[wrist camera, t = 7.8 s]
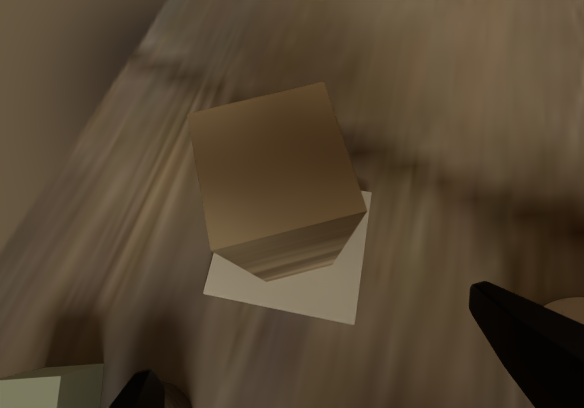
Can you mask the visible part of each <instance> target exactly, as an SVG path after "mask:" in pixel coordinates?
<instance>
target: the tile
mask: <svg viewBox="0 0 584 408" xmlns="http://www.w3.org/2000/svg"><path fill="white" fill-rule="evenodd" d="M361 193H362V196H363V199H364V202H365V205H366V208H367V213H366V214H365V216H364V217H363V219H362V220H361V222H360V223H359V225H358V226H357V228H356V229H355V231H354V232H353V234H352V236H351V237H350V239H349V240H348V242H347V243H346V245H345V246H344V248H343V249H342V251H341V252H340V254H339V255H338V257H337V258H336V260H335V261H334V263H333V265H331V266H327V267H323V268H319V269H315V270H311V271H307V272H304V273H300V274H296V275H292V276H288V277H284V278H280V279H277V280H273V281H269V282H265V281H264V280H262V279H260V278H258V277H256V276H255V275H253V274H251V273H249V272H248V271H246V270H244V269H242V268H240V267H239V266H237V265H235V264H233V263H232V262H230V261H228V260H226V259H224V258H223V257H221V256H219V255H217V254H216V253H214V254H213V258H212V262H211V265H210V269H209V273H208V277H207V281H206V284H205V288H204V292H203V294H206V295H211V296H216V297H221V298H226V299H230V300H235V301H240V302H245V303H250V304H255V305H259V306H264V307H269V308H274V309H279V310H284V311H288V312H293V313H298V314H303V315H308V316H312V317H317V318H322V319H327V320H332V321H337V322H341V323H346V324H351V325H355V317H356V310H357V302H358V294H359V286H360V279H361V271H362V263H363V256H364V248H365V240H366V233H367V225H368V217H369V210H370V202H371V194H372V192H366V191H361Z"/></svg>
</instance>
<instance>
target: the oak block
mask: <svg viewBox="0 0 584 408" xmlns="http://www.w3.org/2000/svg"><path fill="white" fill-rule="evenodd" d="M187 116H188V122H189V127H190V133H191V139H192V145H193V151H194V156H195V162H196V168H197V174H198V180H199V185H200V191H201V197H202V203H203V209H204V214H205V220H206V226H207V232H208V237H209V243H210V249H211V251H212V252H214V253H216V254H217V255H219V256H221V257H223V258H224V259H226V260H228V261H230V262H232V263H233V264H235V265H237V266H239V267H240V268H242V269H244V270H246V271H248V272H249V273H251V274H253V275H255V276H256V277H258V278H260V279H262V280H264V281H265V282H269V281H273V280H277V279H280V278H284V277H288V276H292V275H296V274H300V273H304V272H307V271H311V270H315V269H319V268H323V267H327V266H331V265H333V263H334V261H335V260H336V258H337V257H338V255H339V254H340V252H341V251H342V249H343V248H344V246H345V245H346V243H347V242H348V240H349V239H350V237H351V236H352V234H353V232H354V231H355V229H356V228H357V226H358V225H359V223H360V222H361V220H362V219H363V217H364V216H365V214H366V213H367V208H366V205H365V202H364V199H363V196H362V193H361V190H360V187H359V184H358V181H357V178H356V175H355V172H354V169H353V166H352V163H351V160H350V157H349V154H348V151H347V148H346V145H345V142H344V139H343V136H342V133H341V130H340V127H339V124H338V121H337V119H336V116H335V113H334V110H333V107H332V104H331V101H330V98H329V95H328V92H327V89H326V86H325V83H324V81H323V82H319V83H314V84H310V85H306V86H302V87H298V88H294V89H289V90H285V91H281V92H277V93H273V94H268V95H264V96H260V97H256V98H252V99H248V100H243V101H239V102H235V103H231V104H227V105H223V106H218V107H214V108H210V109H206V110H202V111H197V112H193V113H189V114H187Z"/></svg>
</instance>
